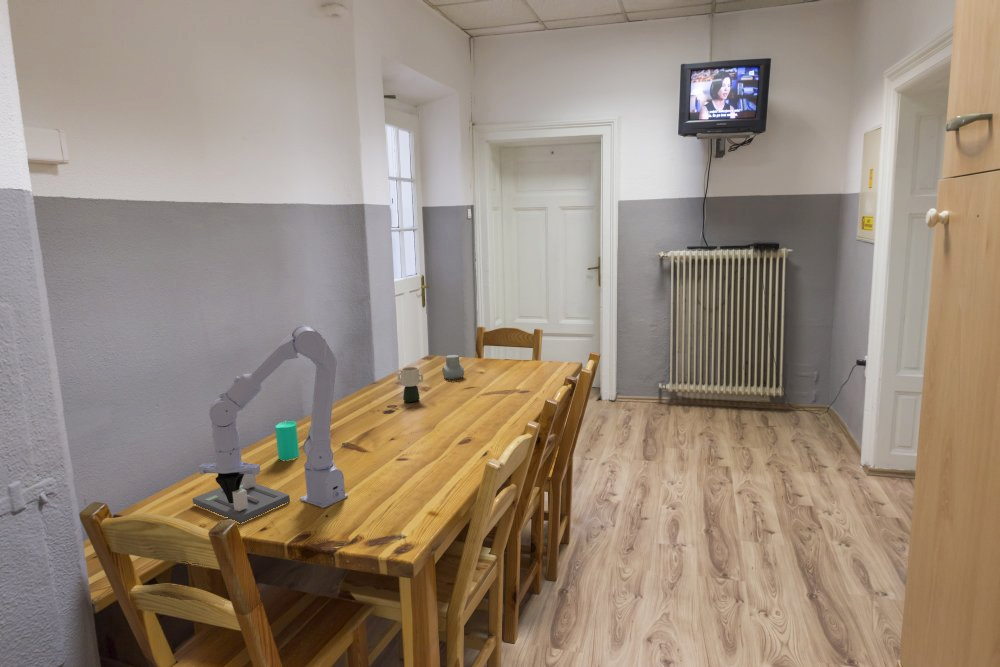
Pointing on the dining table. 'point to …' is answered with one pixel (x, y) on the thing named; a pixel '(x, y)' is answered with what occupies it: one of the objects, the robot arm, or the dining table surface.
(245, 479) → the breaker
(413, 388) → the character mug
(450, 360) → the air freshener
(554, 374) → the dining table surface
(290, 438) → the candle
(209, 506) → the slider control panel
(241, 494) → the block
